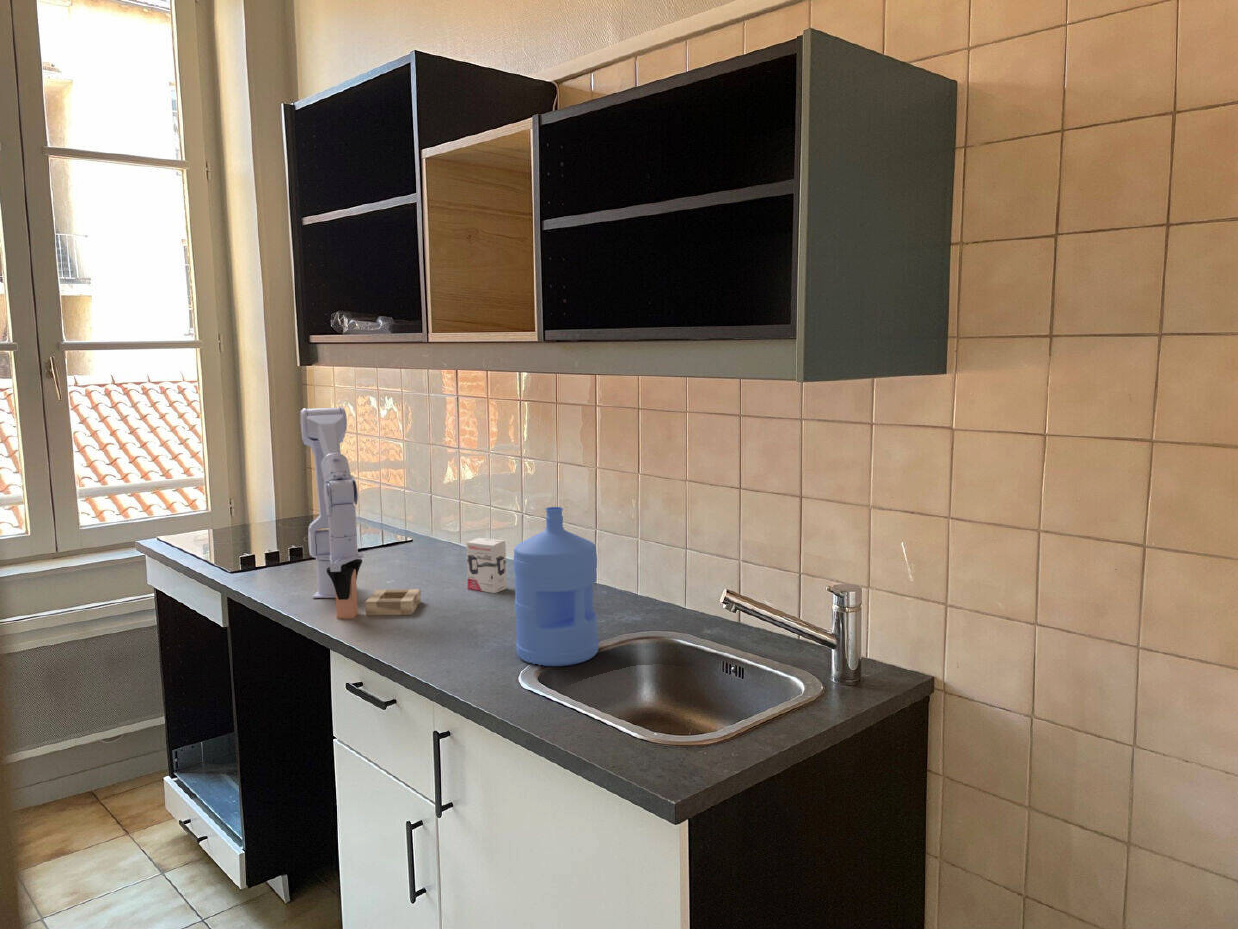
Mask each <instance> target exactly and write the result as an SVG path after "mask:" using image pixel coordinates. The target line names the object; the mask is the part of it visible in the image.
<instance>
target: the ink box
mask: <svg viewBox="0 0 1238 929" xmlns="http://www.w3.org/2000/svg"><path fill="white" fill-rule="evenodd" d="M506 550H507V549H506V541H505V540H503V539H502V540H501V539H496V538H495V539H493V538H486V537H484V538H483V537H477V538H473V539H472V540H471V539H470V540H468V541H467V542H466V564H467V566H466V568H467V569H466V570H467V575H466V577H467V589H468V590H473V591H479V592H480V591H481V592H485V593H486V592H487V593H493V594H497V593H499V592H501V591H504V590H507V589H508V587H507V586H508V583H507V558H506V557H507V556H506V555H507V553H506Z"/></svg>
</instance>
